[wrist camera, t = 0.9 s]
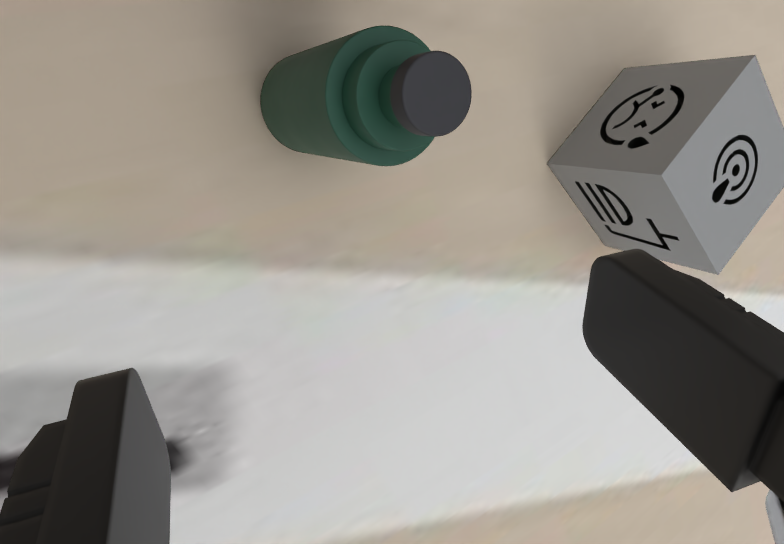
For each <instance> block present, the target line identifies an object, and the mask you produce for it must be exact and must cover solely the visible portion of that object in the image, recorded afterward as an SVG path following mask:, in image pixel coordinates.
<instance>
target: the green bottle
mask: <svg viewBox="0 0 784 544" xmlns="http://www.w3.org/2000/svg"><path fill="white" fill-rule="evenodd" d="M470 103H471V84H470V80H469V76H468V74H467V72H466V70H465V68H464V66H463V65H462V64H461V63H460V62H459V61H458V60H457V59H456V58H455V57H454V56H452V55H450V54H448V53H446V52H442V51H430V49H429V48H428V47H427V46H426V45H425V44H424V43H423V42H422V41H421V40H420V39H419V38H417V37H416V36H415V35H413V34H412V33H410V32H408V31H406V30H403V29H401V28H398V27H393V26H375V27H370V28H367V29H364V30H361V31H358V32H356V33H353V34H350V35H347V36H344V37H342V38H339V39H336V40H333V41H330V42H328V43H325V44H322V45H319V46H317V47H314V48H311V49H308V50H305V51H303V52H300V53H297V54H294V55H291V56H289V57H287V58H285V59H283V60H281V61H280V62H278V63H277V64H276V65H275V66H274V67H273V68H272V69H271V70H270V72H269V73H268V75H267V77H266V79H265V81H264V83H263V87H262V91H261V110H262V115H263V118H264V121H265V123H266V125H267V127H268V129H269V130H270V132H271V133H272V135H273V136H274V137H275V138H276V139H277V140H278V141H279V142H280V143H282V144H283V145H285V146H286V147H288V148H290V149H292V150H295V151H298V152H303V153H308V154H314V155H320V156H326V157H331V158H337V159H343V160H349V161H355V162H360V163H366V164H372V165H378V166H395V165H399V164H403V163H405V162H408V161H410V160H412V159H413V158H415V157H417V156H418V155H419V154H420V153H422V152H423V151H424V150H425V149H426V148H427V147H428V146H429V144H430V143H431V142H432V140H433V139H434V137H435V136H443V135H446V134H449V133H450V132H452V131H453V130H455V129H456V128H457V127H458V126H459V125H460V124H461V123H462V122H463V120H464V119H465V117H466V115H467V113H468V110H469V107H470Z"/></svg>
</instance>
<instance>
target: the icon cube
mask: <svg viewBox="0 0 784 544" xmlns="http://www.w3.org/2000/svg"><path fill="white" fill-rule="evenodd" d="M547 165H548V166H549V167H550V169H551V170H552V172H553V173H554V175H555V176H556V177H557V179H558V180H559V182H560V183H561V184H562V186H563V187H564V189H565V190H566V191H567V193H568V194H569V196H570V197H571V198H572V200H573V201H574V203H575V204H576V206H577V207H578V208H579V210H580V211H581V213H582V214H583V215H584V217H585V218H586V220H587V221H588V222H589V224H590V225H591V227H592V228H593V229H594V231H595V232H596V234H597V235H598V236H599V238H600V239H601V241H602V242H603V244H604V245H605V246H608V247H612V248H615V249H619V250H623V251H626V250H631V249H641V250H644V251H646V252H647V253H649V254H650V255H652V256H653V257H655V258H656V259H658V260H662V261H666V262H670V263H674V264H678V265H682V266H686V267H690V268H694V269H697V270H701V271H705V272H709V273H713V274H717V275H719V273H720V272H721V271H722V269H723V268H724V267H725V265H726V264H727V263H728V261H729V260H730V259H731V257H732V256H733V254H734V253H735V252H736V250H737V249H738V248H739V246H740V245H741V244H742V242H743V241H744V240H745V238H746V237H747V236H748V234H749V233H750V232H751V230H752V229H753V228H754V226H755V225H756V224H757V222H758V221H759V220H760V218H761V217H762V216H763V214H764V213H765V212H766V210H767V209H768V208H769V206H770V205H771V203H772V202H773V201H774V199H775V198H776V197H777V195H778V194H779V193H780V191H781V190H782V189H783V187H784V128H783V125H782V123H781V120H780V117H779V115H778V112H777V110H776V107H775V104H774V102H773V99H772V97H771V94H770V92H769V89H768V86H767V84H766V81H765V79H764V76H763V73H762V71H761V68H760V66H759V63H758V61H757V58H756V55H749V56H739V57H730V58H720V59H710V60H700V61H690V62H680V63H670V64H661V65H651V66H641V67H631V68H624V69H623V71H622V72H621V73H620V74H619V76H618V77H617V78H616V79H615V80H614V82H613V83H612V84H611V85H610V87H609V88H608V89H607V90H606V91H605V93H604V94H603V95H602V96H601V98H600V99H599V100H598V101H597V103H596V104H595V105H594V106H593V107H592V109H591V110H590V111H589V112H588V114H587V115H586V116H585V117H584V118H583V120H582V121H581V122H580V123H579V125H578V126H577V127H576V128H575V130H574V131H573V132H572V133H571V134H570V136H569V137H568V138H567V139H566V141H565V142H564V143H563V144H562V145H561V147H560V148H559V149H558V150H557V152H556V153H555V154H554V155H553V156H552V158H551V159H550V160H549V161H548V163H547Z"/></svg>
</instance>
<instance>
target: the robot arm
mask: <svg viewBox="0 0 784 544" xmlns="http://www.w3.org/2000/svg"><path fill="white" fill-rule="evenodd" d="M583 335H584V339H585V342H586V345H587V347H588V349H589V350H590V352H591V353H592V355H593V356H594V357H595V358H596V359H597V360H598V361H599V362H600V363H601V364H602V365H603V366H604V367H605V368H606V369H607V370H608V371H609V372H610V373H611V374H612V375H613V376H614V377H615V378H616V379H617V380H618V381H619V382H620V383H621V384H622V385H623V386H624V387H625V388H626V389H627V390H628V391H629V392H630V393H631V394H632V395H633V396H634V397H635V398H636V399H638V400H639V401H640V402H641V403H642V404H643V405H644V406H645V407H646V408H647V409H648V410H649V411H650V412H651V413H652V414H653V415H654V416H655V417H656V418H657V419H658V420H659V421H660V422H661V423H662V424H663V425H664V426H665V427H666V428H667V429H668V430H669V431H670V432H671V433H672V434H673V435H674V436H675V437H676V438H677V439H678V440H679V441H680V442H681V443H682V444H683V445H684V446H685V447H686V448H687V449H688V450H689V451H690V452H691V453H692V454H693V455H694V456H695V457H696V458H697V459H698V460H699V461H700V462H701V463H702V464H703V465H704V466H706V467H707V468H708V469H709V470H710V471H711V472H712V473H713V474H714V475H715V476H716V477H717V478H718V479H719V480H720V481H721V482H722V483H723V484H724V485H725V486H726V487H727V488H728V489H729V490H730V491H731V492H734V491H736V490H739V489H741V488H744V487H747V486H749V485H752V484H754V483H757V482H759V481H761V482H763V483H764V484H765V485H766V486H767V487H768V488H769V489H770V490H769V492H768V494H767V497H766V502H765V504H766V510H767V514H768V518H769V522H770V526H771V530H772V534H773V537H774V541H775V544H784V332H782V331H780V330H779V329H777V328H776V327H774V326H773V325H771V324H769V323H768V322H766V321H765V320H763V319H762V318H760V317H758V316H757V315H755V314H754V313H752V312H751V311H750V312H746V311H745V308H744V307H743V306H741V305H739V304H738V303H736V302H735V301H733V300H732V299H730V298H728V299H725V297H724V294H722V293H721V292H719V291H717V290H716V289H714V288H713V287H711V286H710V285H708V284H706V283H705V282H703V281H702V280H700V279H698V278H695V277H692V276H690V275H687V274H684V273H682V272H679V271H676V270H673V269H672V268H670V267H669V266H667V265H666V264H664V263H663V262H661V261H659V260H658V259H656V258H655V257H653V256H652V255H650V254H649V253H647V252H646V251H644V250H641V249H631V250H626V251H622V252H618V253H614V254H610V255H606V256H601V257H599V258H597V259H596V260H595V261H594V263H593V265H592V268H591V273H590V279H589V286H588V292H587V299H586V305H585V312H584V318H583ZM7 492H8V498H5V500H4V503H3V506H2V509H1V512H0V544H169V539H170V494H171V470H170V461H169V455H168V450H167V446H166V442H165V439H164V436H163V434H162V431H161V429H160V426H159V424H158V421H157V419H156V416H155V414H154V411H153V409H152V406H151V404H150V401H149V399H148V396H147V394H146V391H145V389H144V386H143V384H142V381H141V379H140V377H139V375H138V373H137V371H136V370H135V369H134V368H129V369H125V370H121V371H117V372H113V373H109V374H104V375H100V376H96V377H92V378H88V379H84V380H80V381H78V382H77V383H76V385H75V388H74V392H73V396H72V400H71V404H70V408H69V412H68V416H67V420H63V421H59V422H55V423H51V424H47V425H44V426H43V427H42V428H41V429H40V431H39V432H38V433H37V434H36V436H35V437H34V438H33V440H32V441H31V442H30V443H29V445H28V446H27V447H26V448H25V450H24V451H23V452H22V454H21V455H20V456H19V457H18V460H17V463H16V466H15V469H14V472H13V475H12V478H11V481H10V485H9V488H8V491H7Z"/></svg>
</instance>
